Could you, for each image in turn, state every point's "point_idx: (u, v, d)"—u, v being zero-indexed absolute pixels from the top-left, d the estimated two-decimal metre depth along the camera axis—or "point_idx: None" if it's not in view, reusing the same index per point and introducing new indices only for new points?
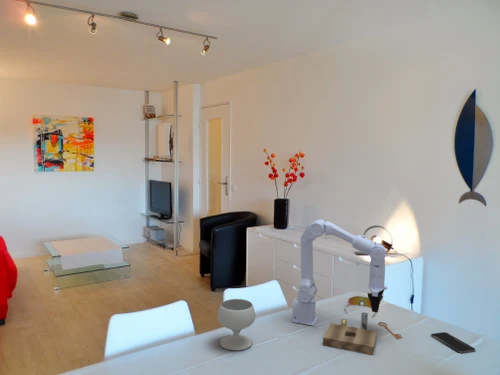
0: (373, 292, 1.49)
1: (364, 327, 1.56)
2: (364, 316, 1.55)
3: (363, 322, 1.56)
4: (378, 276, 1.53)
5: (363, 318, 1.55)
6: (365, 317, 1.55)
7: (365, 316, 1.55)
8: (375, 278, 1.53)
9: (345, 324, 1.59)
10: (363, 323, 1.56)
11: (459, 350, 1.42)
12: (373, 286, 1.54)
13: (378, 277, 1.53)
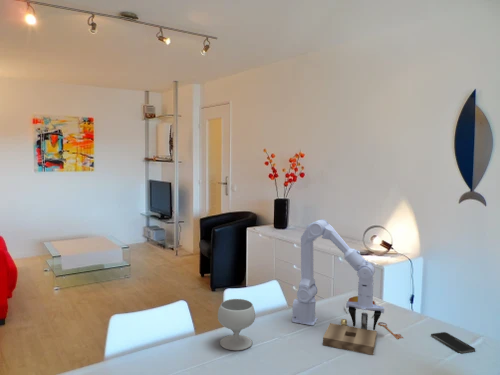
0: None
1: (364, 327, 1.56)
2: (364, 316, 1.55)
3: (363, 322, 1.56)
4: (366, 295, 1.53)
5: (363, 318, 1.55)
6: (365, 317, 1.55)
7: (365, 316, 1.55)
8: None
9: (345, 324, 1.59)
10: (363, 323, 1.56)
11: (459, 350, 1.42)
12: None
13: (358, 294, 1.56)
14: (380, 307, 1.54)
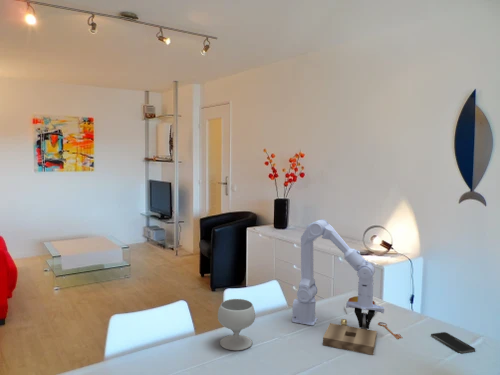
0: None
1: (364, 327, 1.56)
2: (364, 316, 1.55)
3: (363, 322, 1.56)
4: (366, 295, 1.53)
5: (363, 318, 1.55)
6: (365, 317, 1.55)
7: (365, 316, 1.55)
8: None
9: (345, 324, 1.59)
10: (363, 323, 1.56)
11: (459, 350, 1.42)
12: None
13: (358, 294, 1.56)
14: (380, 307, 1.54)
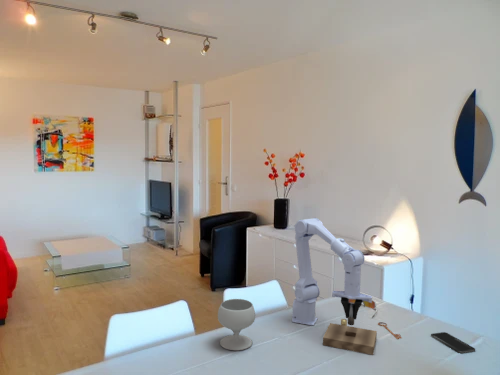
0: (332, 292, 1.51)
1: (351, 317, 1.47)
2: (351, 306, 1.47)
3: (350, 312, 1.47)
4: (349, 283, 1.45)
5: (350, 308, 1.47)
6: (352, 307, 1.47)
7: (352, 306, 1.47)
8: None
9: (345, 324, 1.59)
10: (350, 313, 1.47)
11: (459, 350, 1.42)
12: None
13: None
14: (368, 296, 1.46)
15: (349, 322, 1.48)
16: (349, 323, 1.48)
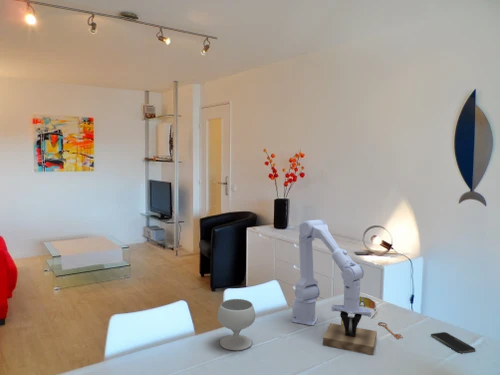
0: (332, 306, 1.51)
1: (350, 332, 1.48)
2: (350, 320, 1.48)
3: (349, 326, 1.48)
4: (348, 298, 1.46)
5: (349, 322, 1.48)
6: (351, 321, 1.47)
7: (351, 320, 1.47)
8: None
9: None
10: (349, 327, 1.48)
11: (459, 350, 1.42)
12: None
13: (344, 296, 1.48)
14: (367, 311, 1.46)
15: None
16: None
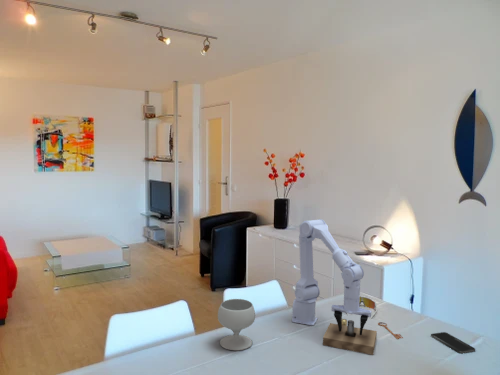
0: (332, 306, 1.51)
1: (350, 335, 1.48)
2: (350, 324, 1.48)
3: (349, 330, 1.48)
4: (348, 298, 1.46)
5: (349, 326, 1.48)
6: (351, 325, 1.47)
7: (351, 324, 1.47)
8: None
9: (345, 324, 1.59)
10: (349, 331, 1.48)
11: (459, 350, 1.42)
12: None
13: (344, 297, 1.48)
14: (367, 311, 1.46)
15: None
16: None
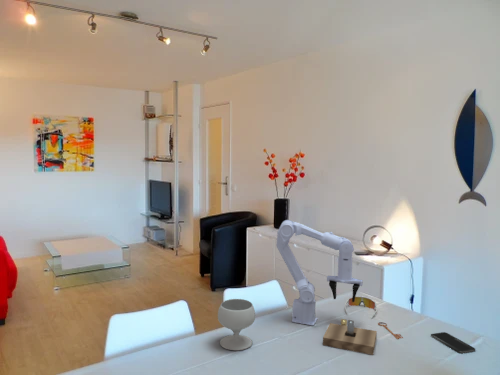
0: None
1: (350, 335, 1.48)
2: (350, 324, 1.48)
3: (349, 330, 1.48)
4: (347, 269, 1.61)
5: (349, 326, 1.48)
6: (351, 325, 1.48)
7: (351, 324, 1.47)
8: None
9: (345, 324, 1.59)
10: (349, 331, 1.48)
11: (459, 350, 1.42)
12: None
13: (338, 268, 1.64)
14: (359, 280, 1.62)
15: None
16: None
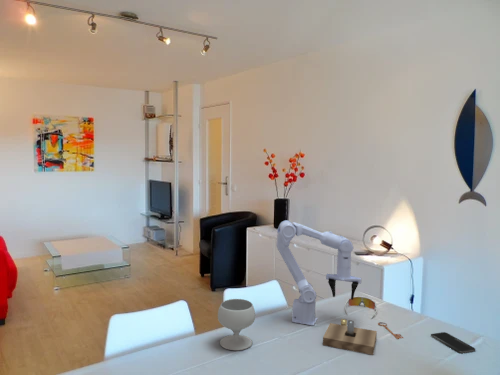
0: None
1: (350, 335, 1.48)
2: (350, 324, 1.48)
3: (349, 330, 1.48)
4: (347, 267, 1.64)
5: (349, 326, 1.48)
6: (351, 325, 1.48)
7: (351, 324, 1.47)
8: None
9: (345, 324, 1.59)
10: (349, 331, 1.48)
11: (459, 350, 1.42)
12: None
13: (337, 266, 1.67)
14: (357, 278, 1.64)
15: None
16: None
